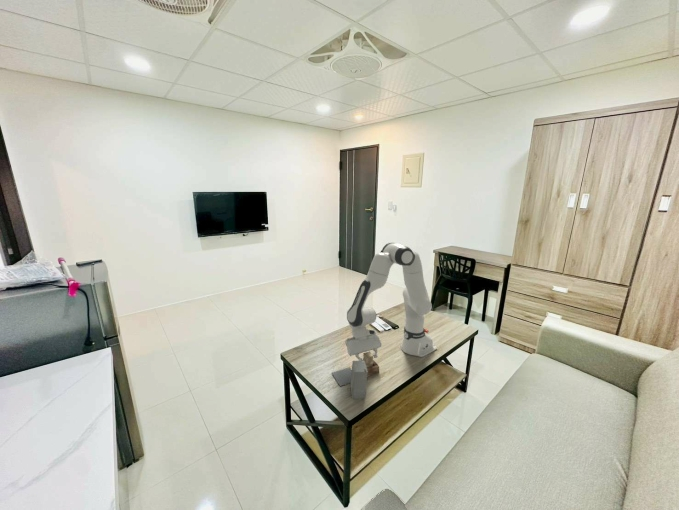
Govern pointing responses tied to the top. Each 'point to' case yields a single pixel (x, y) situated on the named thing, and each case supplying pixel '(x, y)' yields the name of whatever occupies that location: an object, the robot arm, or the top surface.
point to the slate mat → (343, 376)
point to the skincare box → (358, 379)
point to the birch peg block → (368, 359)
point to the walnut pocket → (373, 369)
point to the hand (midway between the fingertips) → (368, 359)
